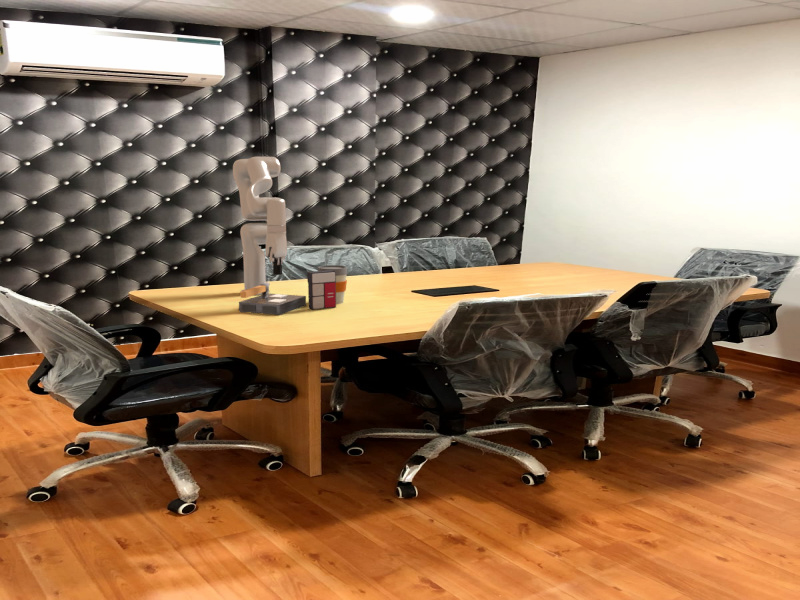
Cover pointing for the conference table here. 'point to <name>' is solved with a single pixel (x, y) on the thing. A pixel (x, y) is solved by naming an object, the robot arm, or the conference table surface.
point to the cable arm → (255, 290)
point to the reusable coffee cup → (338, 280)
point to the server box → (272, 304)
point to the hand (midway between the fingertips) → (277, 274)
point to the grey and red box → (321, 289)
